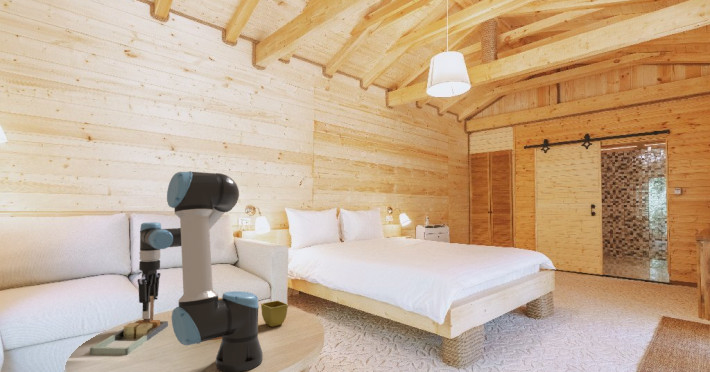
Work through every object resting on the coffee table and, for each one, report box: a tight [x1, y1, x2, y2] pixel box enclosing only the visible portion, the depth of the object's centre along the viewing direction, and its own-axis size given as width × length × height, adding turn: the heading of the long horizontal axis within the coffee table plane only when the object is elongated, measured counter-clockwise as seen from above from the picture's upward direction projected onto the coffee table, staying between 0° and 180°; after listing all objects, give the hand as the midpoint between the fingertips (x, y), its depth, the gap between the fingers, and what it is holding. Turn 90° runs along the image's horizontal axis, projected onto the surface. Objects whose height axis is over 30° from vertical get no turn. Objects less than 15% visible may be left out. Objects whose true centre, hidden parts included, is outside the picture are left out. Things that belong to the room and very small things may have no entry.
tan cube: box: [123, 322, 140, 337], centre depth 146 cm, size 4×4×4 cm
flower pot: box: [260, 300, 289, 328], centre depth 163 cm, size 9×9×9 cm
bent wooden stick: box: [135, 296, 161, 329], centre depth 153 cm, size 3×9×13 cm, turn 90°
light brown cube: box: [136, 323, 152, 337], centre depth 146 cm, size 4×4×4 cm
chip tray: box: [89, 334, 148, 355], centre depth 134 cm, size 12×13×3 cm
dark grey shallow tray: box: [113, 320, 169, 342], centre depth 148 cm, size 16×13×3 cm
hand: (148, 317), depth 153 cm, fingers closed on bent wooden stick, 3 cm apart
